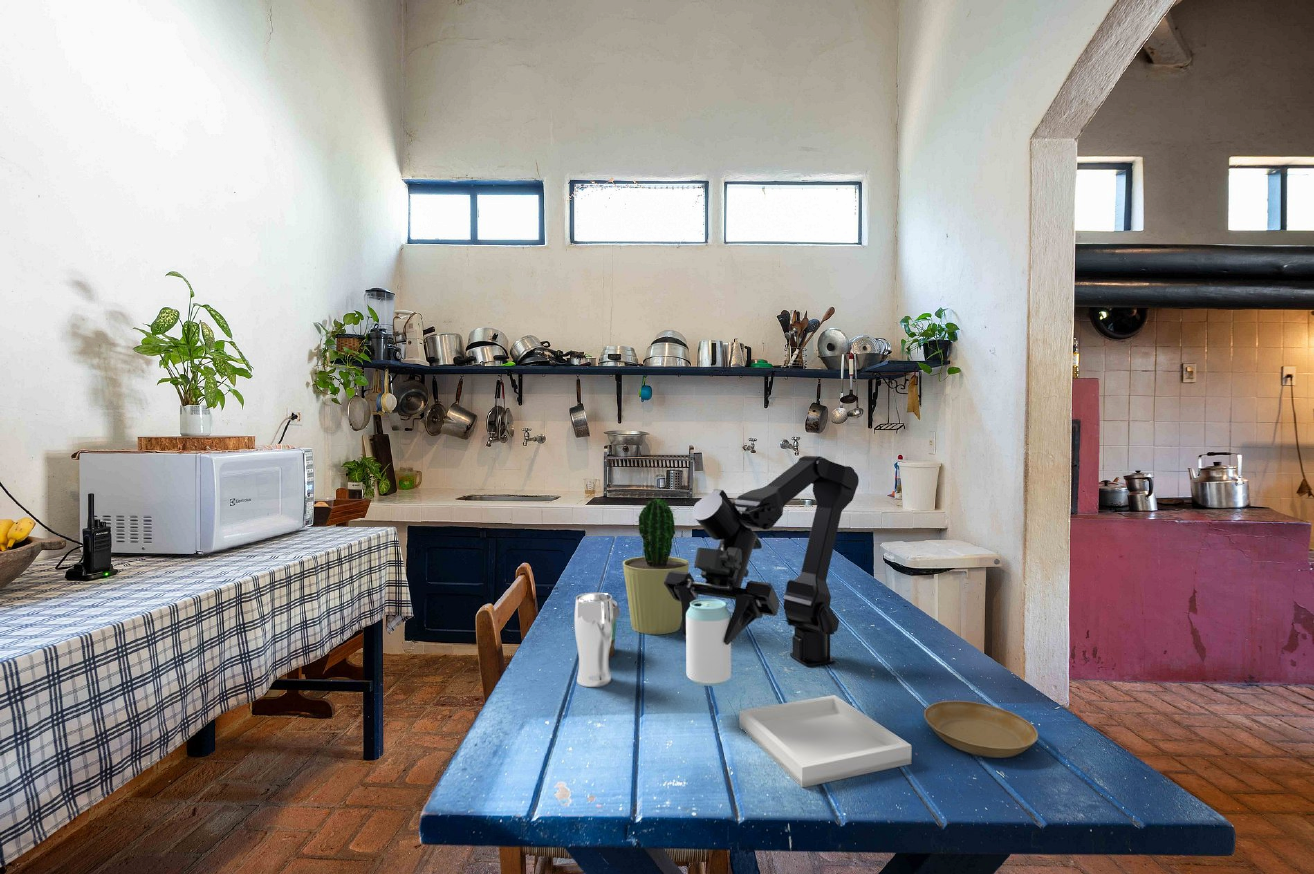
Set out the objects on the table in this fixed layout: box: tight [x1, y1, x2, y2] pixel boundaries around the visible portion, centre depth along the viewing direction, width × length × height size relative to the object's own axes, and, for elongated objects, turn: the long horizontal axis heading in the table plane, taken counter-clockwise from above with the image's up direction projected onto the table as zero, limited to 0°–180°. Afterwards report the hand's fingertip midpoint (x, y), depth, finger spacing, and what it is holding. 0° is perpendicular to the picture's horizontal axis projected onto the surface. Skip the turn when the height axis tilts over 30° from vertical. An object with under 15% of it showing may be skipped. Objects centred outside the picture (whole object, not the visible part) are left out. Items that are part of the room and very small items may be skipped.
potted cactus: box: [622, 498, 690, 635], centre depth 142 cm, size 15×15×30 cm
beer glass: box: [574, 592, 613, 688], centre depth 111 cm, size 7×7×15 cm
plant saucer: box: [923, 700, 1039, 759], centre depth 90 cm, size 15×15×3 cm
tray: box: [738, 694, 912, 788], centre depth 88 cm, size 17×17×2 cm
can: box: [685, 598, 732, 687], centre depth 98 cm, size 7×7×12 cm
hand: (704, 639), depth 97 cm, fingers closed on can, 7 cm apart
